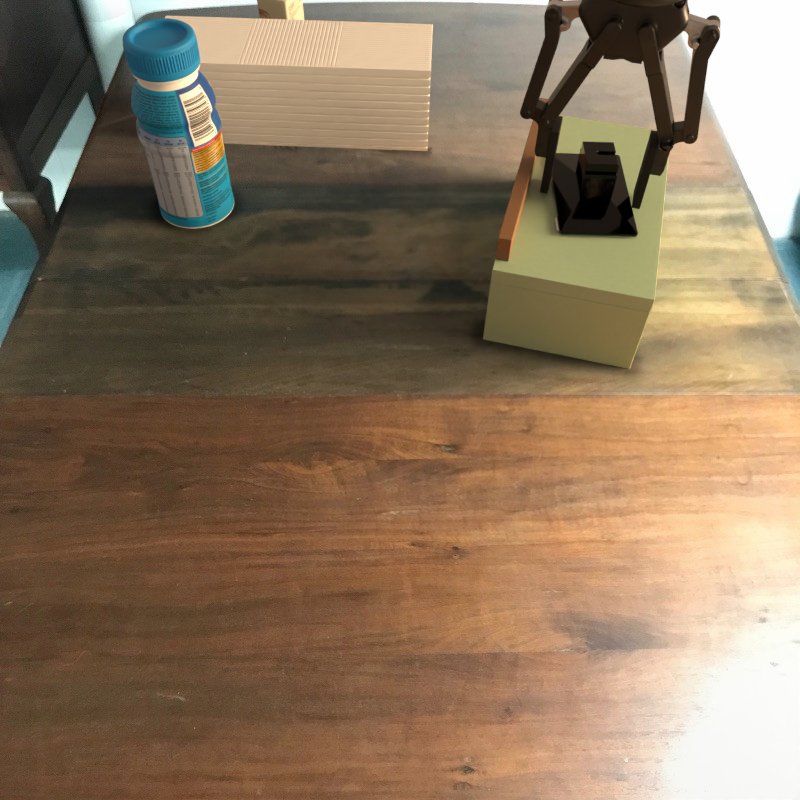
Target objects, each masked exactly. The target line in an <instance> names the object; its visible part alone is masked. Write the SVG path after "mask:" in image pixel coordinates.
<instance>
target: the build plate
mask: <svg viewBox="0 0 800 800" xmlns="http://www.w3.org/2000/svg"><path fill="white" fill-rule="evenodd" d="M615 153H616V150H615V146H614V142H585V141H583V142H582V147H581V149H580V153H579V154H574V153H556V157H555V162H554V167H553V173H552V182H553V189H554V196H555V203H556V210H557V217H556V218H555V223H556V230H557V231H558V232H559V233H560V234H561V235H574V236H608V237H637V235H638V231H637V227H636V223H635V218H634V214H633V210H632V206H631V202H630V197H629V193H628V189H627V185H626V181H625V176H624V172H623V168H622V164H621V160H620V156H619V155H615Z"/></svg>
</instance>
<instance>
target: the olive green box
mask: <svg viewBox="0 0 800 800" xmlns="http://www.w3.org/2000/svg"><path fill="white" fill-rule="evenodd" d="M548 99H549V98H544V97H539V100H541V101H543V102H545V101H546V102H547V100H548ZM559 116H562V117H563V120H562V125H561V130H560V136H559V141H558V146H557V151H556V153H574V154H579V153H580V149H581V147H582V142H583V141H585V142H614V146H615V150H616V153H615V155H619V156H620V160H621V164H622V168H623V172H624V176H625V181H626V185H627V189H628V193H629V197H630V202H631V206H632V201H633V194H634V189H635V185H636V182H637V178H638V175H639V171H640V168H641V164H642V161H643V157H644V154H645V150H646V147H647V143H648V140H649V136H650V133H651V130H654V131H657V129H653V128H647V127H641V126H635V125H629V124H628V125H627V124H620V123H615V122H608V121H601V120H596V119H588V118H582V117H577V116H569V115H563V114H560V115H559ZM537 133H538V124H537V123H536V122H535V121H534V120H532V121H531V125H530V129H529V133H528V135H527V139H526V142H525V145H524V149H523V153H522V156H521V159H520V162H519V166H518V169H517V172H516V176H515V180H514V181H513V186H512V189H511V193H510V195H509V196H510V197H509V200H508V203H507V205H506V206H507V207H506V210H505V213H504V215H503V216H504V217H503V221H502V223H501V227H500V229H499V233H498V236H497V243H496V251H495V258H494V262H493V266H492V270H491V276H490V284H489V289H488V290H489V291H488V300H487V305H486V313H485V319H484V328H483V335H482V340H484V341H489V342H494V343H498V344H499V343H500V344H504V345H509V346H512V347H513V346H514V347H518V348H523V349H528V350H534V351H539V352H544V353H549V354H554V355H559V356H564V357H568V358H573V359H579V360H584V361H588V362H593V363H599V364H603V365H608V366H613V367H619V368H623V369H627V370H628V369H629V370H631V367H632V364H633V361H634V359H635V356H636V353H637V351H638V348H639V345H640V343H641V339H642V337H643V334H644V331H645V328H646V325H647V323H648V320H649V317H650V314H651V312H652V310H653V307H654V304H655V301H656V291H657V283H658V272H659V271H658V270H659V261H660V251H661V240H662V230H663V221H664V220H663V219H664V209H665V199H666V188H667V178H668V167H669V159H670V157H668V160H667V163H666V166H665V170H664V172H663V173H662V174H661V176H657V175H650V176H649V180H648V183H647V186H646V190H645V193H644V196H643V200H642V203H641V207H640V209H636V208H632V210H633V214H634V218H635V223H636V227H637V231H638V235H637V237H608V236H574V235H561V234H560V233H559V232H558V231H557V230H556V223H555V218H556V217H557V210H556V203H555V196H554V189H553V182H552V178H551V182H550V186H549V190H548V194H547V193H541V192H540V188H541V182H542V177H543V171H544V166H545V160H546V158H544V157H537V156H536V155H535V146H536V139H537Z"/></svg>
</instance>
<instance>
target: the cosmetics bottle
mask: <svg viewBox="0 0 800 800" xmlns="http://www.w3.org/2000/svg"><path fill="white" fill-rule="evenodd" d="M256 4H257V11H258V16H259V18H258V19H288V20H305V12H304V2H303V0H256Z"/></svg>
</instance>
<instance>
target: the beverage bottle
mask: <svg viewBox="0 0 800 800" xmlns="http://www.w3.org/2000/svg"><path fill="white" fill-rule="evenodd" d="M122 49H123V51H124V56H125V58H126V59H125V60H126V63H127V66H128V69H129V71H130V74H132V76H133V77H134V78H135V81H134V83H133V86H132V90H131V95H130V96H131V97H130V106H131V111H132V113H133V115H134V117H136V122H135V127H136V133H137V137H138V140H139V143H140V144H141V145H142V148H143V151H144V155H145V160H146V162H147V165H148V169H149V173H150V176H151V179H152V183H153V187H154V191H155V194H156V198H157V201H158V207H159V211H160V215H161V216H162V218H163V220H165V221H166V222H168V223H169V224H170V225H172V226H174V227H177V228H182V229H188V230H189V229H190V230H191V229H192V230H194V229H203V228H207V227H208V228H209V227H212V226H214V225H217V224H218V223H220V222H222V221H223V220H225V219H226V218H228V216H230V214H231V213H232V211H233V210H234V208H235V197H234V192H233V188H232V183H231V177H230V171H229V167H228V166H229V165H228V161H227V156H226V155H227V154H226V149H225V144H224V143H223V137H222V123H221V119H220V115H219V113H218V111H217V110H216V108H215V103H216V98H215V94H214V91H213V89H212V87H211V85H210V84H209V82H208V81H207V79H206V78H205V77H204V76H203V74H202V73H201V72H200V71H199V67H200V54H199V49H198V43H197V38H196V35H195V32H194V30H193V28H192V27H191V26H190V25H189V24H187V23H185V22H183V21H180V20H176V19H169V18H165V17H162V18H161V17H160V18H151V19H147V20H143V21H140V22H137V23H135V24H133V25H131V26H130V27H129V28H128V29H126V31H125V32H123V35H122Z"/></svg>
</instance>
